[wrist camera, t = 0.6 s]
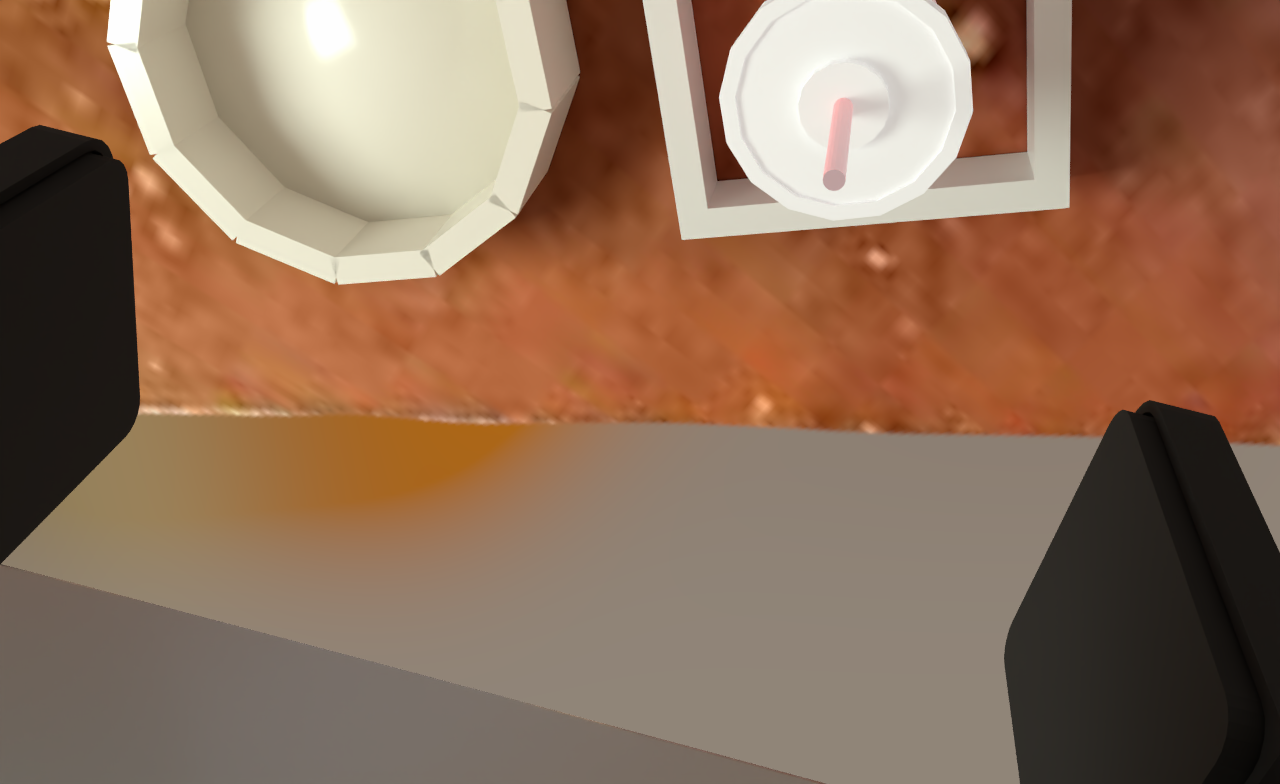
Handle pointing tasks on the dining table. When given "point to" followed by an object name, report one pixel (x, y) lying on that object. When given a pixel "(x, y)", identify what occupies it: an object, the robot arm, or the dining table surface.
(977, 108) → the dining table surface
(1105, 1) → the dining table surface
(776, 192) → the beverage cup
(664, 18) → the open square frame
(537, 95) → the bowl
